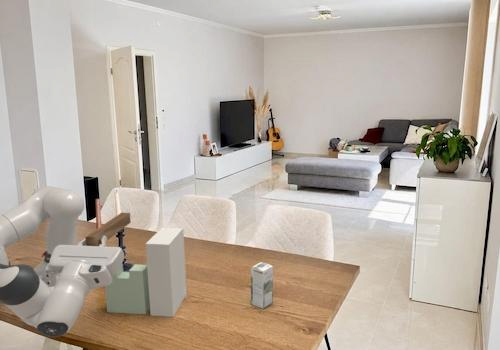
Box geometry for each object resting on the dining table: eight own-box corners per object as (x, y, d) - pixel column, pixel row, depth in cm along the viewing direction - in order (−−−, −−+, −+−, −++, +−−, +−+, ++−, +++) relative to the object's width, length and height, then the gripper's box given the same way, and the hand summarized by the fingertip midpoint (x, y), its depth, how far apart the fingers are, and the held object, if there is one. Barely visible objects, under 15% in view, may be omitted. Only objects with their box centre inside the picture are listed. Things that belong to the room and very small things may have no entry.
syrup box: (260, 298, 154) (260, 261, 151) (273, 303, 151) (273, 265, 148) (250, 304, 150) (250, 266, 147) (263, 309, 146) (263, 270, 143)
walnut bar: (86, 248, 121) (85, 236, 121) (122, 222, 145) (121, 212, 144) (96, 248, 121) (95, 237, 120) (130, 222, 144) (129, 212, 144)
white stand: (150, 315, 144) (145, 243, 139) (166, 293, 159) (162, 227, 154) (173, 316, 143) (168, 244, 137) (186, 294, 158) (183, 228, 153)
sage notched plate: (107, 312, 147) (103, 269, 143) (113, 304, 151) (109, 263, 148) (145, 314, 145) (142, 271, 141) (150, 306, 150) (147, 264, 146)
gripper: (47, 281, 118) (68, 242, 128) (116, 284, 115) (132, 244, 125) (37, 267, 114) (60, 228, 124) (109, 270, 111) (126, 230, 121)
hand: (97, 236), depth 124 cm, fingers closed on walnut bar, 3 cm apart
